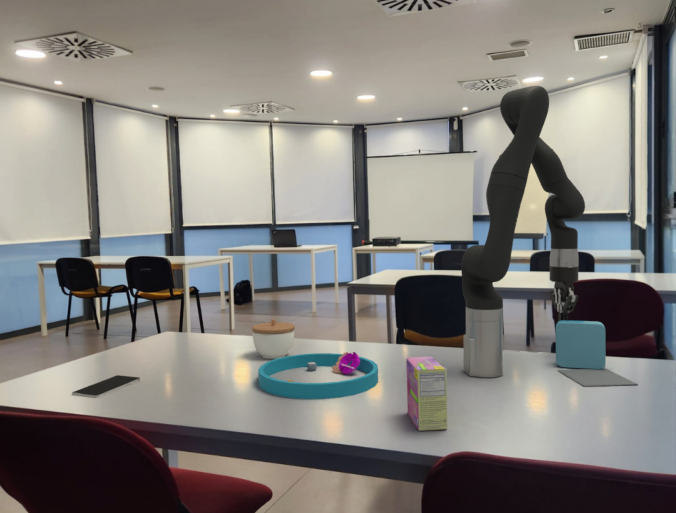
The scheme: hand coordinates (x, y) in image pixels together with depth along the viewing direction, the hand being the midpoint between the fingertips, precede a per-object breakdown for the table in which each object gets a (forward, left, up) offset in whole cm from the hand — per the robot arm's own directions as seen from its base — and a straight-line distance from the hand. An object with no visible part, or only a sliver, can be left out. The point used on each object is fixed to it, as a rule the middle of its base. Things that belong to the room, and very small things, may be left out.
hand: (563, 325), depth 158 cm
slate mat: (-1, -20, -10) cm, 22 cm away
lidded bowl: (-83, +12, -10) cm, 84 cm away
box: (-49, -46, -10) cm, 68 cm away
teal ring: (-70, -15, -10) cm, 72 cm away
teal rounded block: (0, -10, -10) cm, 14 cm away
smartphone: (-122, -16, -10) cm, 123 cm away
